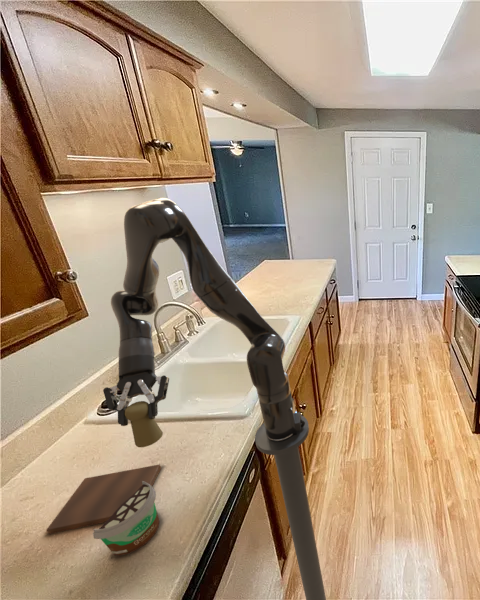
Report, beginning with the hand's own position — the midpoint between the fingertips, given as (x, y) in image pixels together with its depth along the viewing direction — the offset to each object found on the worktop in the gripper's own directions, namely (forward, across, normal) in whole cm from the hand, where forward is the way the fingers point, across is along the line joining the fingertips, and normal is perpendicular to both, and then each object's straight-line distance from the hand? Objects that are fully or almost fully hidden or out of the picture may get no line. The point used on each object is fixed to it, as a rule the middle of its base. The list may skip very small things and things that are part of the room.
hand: (138, 421), depth 83 cm
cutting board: (+15, -10, +12) cm, 22 cm away
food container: (+26, 0, +1) cm, 26 cm away
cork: (+4, 0, +6) cm, 8 cm away
